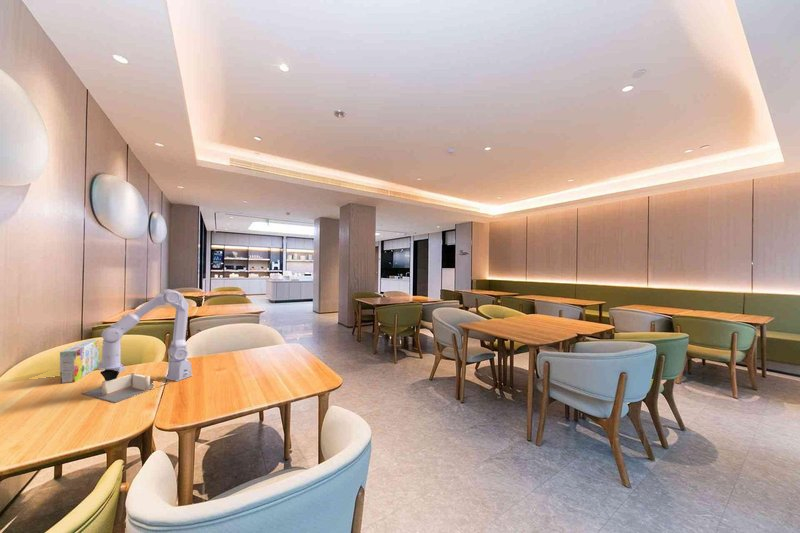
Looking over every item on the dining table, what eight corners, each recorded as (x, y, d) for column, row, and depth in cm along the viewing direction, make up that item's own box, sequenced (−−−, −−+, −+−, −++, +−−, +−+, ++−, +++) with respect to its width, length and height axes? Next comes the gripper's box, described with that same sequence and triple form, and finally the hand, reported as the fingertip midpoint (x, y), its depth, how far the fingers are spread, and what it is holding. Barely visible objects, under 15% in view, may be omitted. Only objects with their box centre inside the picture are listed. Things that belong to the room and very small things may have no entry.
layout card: (167, 383, 135) (168, 382, 135) (115, 402, 116) (115, 401, 116) (136, 376, 142) (136, 375, 142) (81, 393, 122) (81, 392, 122)
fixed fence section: (150, 389, 128) (150, 375, 128) (146, 390, 127) (146, 377, 127) (136, 385, 131) (136, 372, 131) (131, 387, 130) (132, 374, 129)
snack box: (85, 368, 150) (85, 339, 150) (99, 366, 153) (100, 338, 153) (58, 384, 131) (59, 351, 131) (75, 382, 133) (76, 350, 133)
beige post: (132, 383, 132) (133, 372, 131) (135, 384, 131) (135, 372, 131) (101, 394, 120) (101, 382, 120) (103, 395, 120) (103, 382, 120)
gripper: (88, 355, 123) (87, 387, 123) (110, 360, 118) (109, 392, 118) (109, 351, 129) (108, 380, 129) (131, 355, 125) (130, 385, 125)
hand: (110, 386), depth 124 cm, fingers closed
